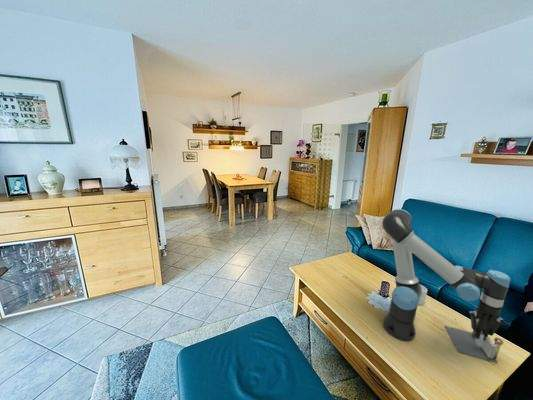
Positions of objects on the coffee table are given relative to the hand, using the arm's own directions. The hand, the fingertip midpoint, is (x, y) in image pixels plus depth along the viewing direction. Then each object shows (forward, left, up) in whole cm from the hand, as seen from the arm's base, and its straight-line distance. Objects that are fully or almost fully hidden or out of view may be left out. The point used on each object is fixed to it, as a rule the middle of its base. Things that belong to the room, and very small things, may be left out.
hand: (477, 343), depth 109 cm
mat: (-2, +3, -4) cm, 5 cm away
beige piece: (+3, +1, -2) cm, 4 cm away
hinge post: (+3, +9, -4) cm, 10 cm away
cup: (-20, +30, -4) cm, 36 cm away
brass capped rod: (+5, -3, -4) cm, 7 cm away
